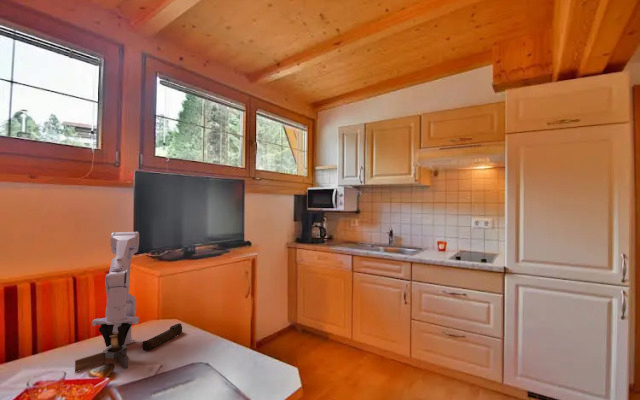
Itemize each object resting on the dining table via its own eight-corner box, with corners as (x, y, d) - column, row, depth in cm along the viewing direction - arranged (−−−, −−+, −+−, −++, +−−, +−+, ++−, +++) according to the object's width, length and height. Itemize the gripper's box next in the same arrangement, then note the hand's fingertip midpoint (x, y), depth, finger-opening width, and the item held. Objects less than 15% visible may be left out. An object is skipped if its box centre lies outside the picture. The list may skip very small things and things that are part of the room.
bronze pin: (113, 349, 107) (112, 332, 107) (124, 347, 108) (124, 330, 108) (107, 354, 103) (106, 336, 104) (119, 352, 104) (118, 334, 104)
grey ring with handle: (100, 359, 105) (101, 349, 105) (122, 353, 110) (122, 343, 110) (114, 372, 96) (115, 361, 96) (137, 365, 101) (137, 354, 101)
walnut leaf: (72, 368, 99) (73, 357, 99) (122, 353, 110) (122, 343, 110) (77, 374, 95) (78, 363, 95) (128, 358, 106) (129, 348, 106)
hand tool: (149, 352, 111) (149, 339, 111) (141, 351, 112) (141, 338, 112) (187, 333, 129) (187, 322, 129) (179, 332, 130) (179, 321, 130)
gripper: (86, 310, 102) (85, 351, 101) (132, 308, 103) (131, 349, 102) (100, 304, 109) (98, 342, 108) (142, 302, 110) (141, 340, 109)
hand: (115, 345), depth 106 cm, fingers closed on bronze pin, 4 cm apart
